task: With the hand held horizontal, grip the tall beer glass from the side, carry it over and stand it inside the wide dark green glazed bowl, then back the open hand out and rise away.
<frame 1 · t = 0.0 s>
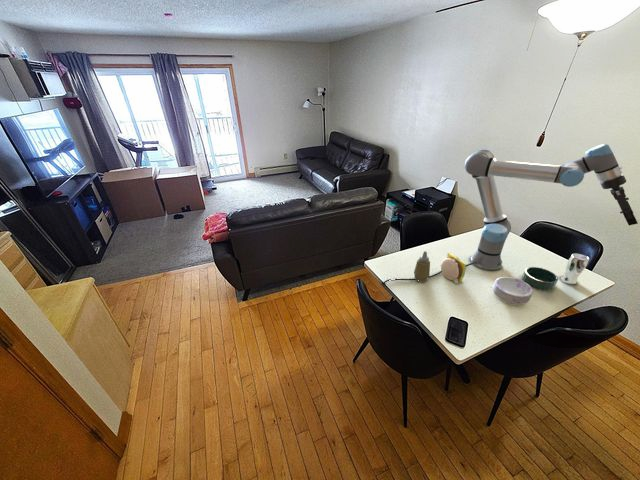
hand: (631, 219, 119), 36 cm above the table, tool tilted 35°, fingers open, 13 cm apart
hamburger: (449, 277, 145), on the table
lavender bowl: (508, 298, 129), on the table
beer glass: (568, 281, 138), on the table
squeeze bottle: (420, 279, 145), on the table
glazed bowl: (537, 282, 138), on the table
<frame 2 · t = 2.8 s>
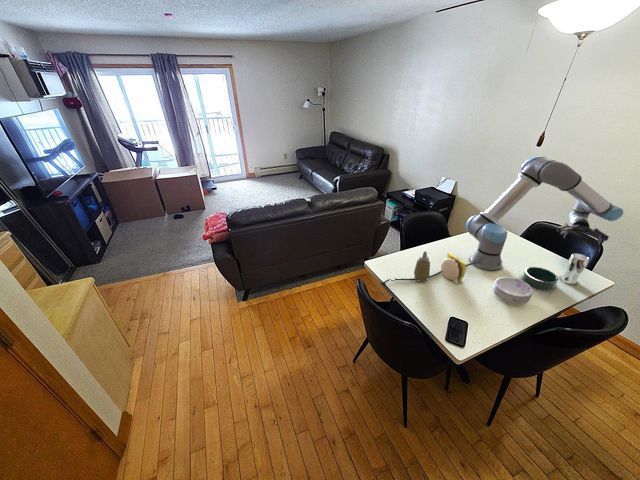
hand: (583, 240, 135), 20 cm above the table, tool horizontal, fingers open, 13 cm apart
nothing on the table moved.
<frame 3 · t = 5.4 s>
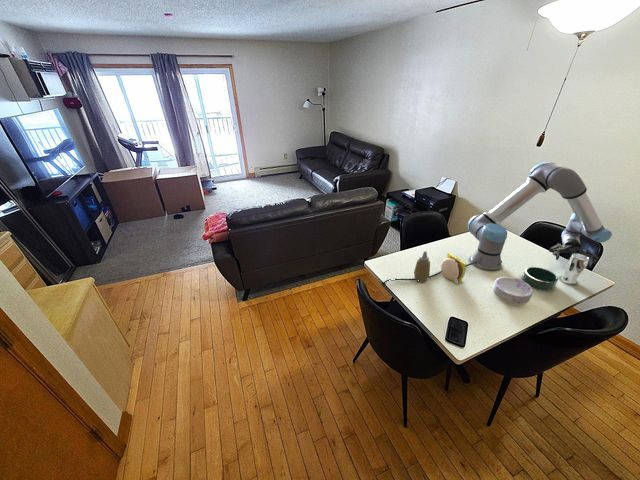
hand: (574, 261, 138), 9 cm above the table, tool horizontal, fingers open, 13 cm apart
nothing on the table moved.
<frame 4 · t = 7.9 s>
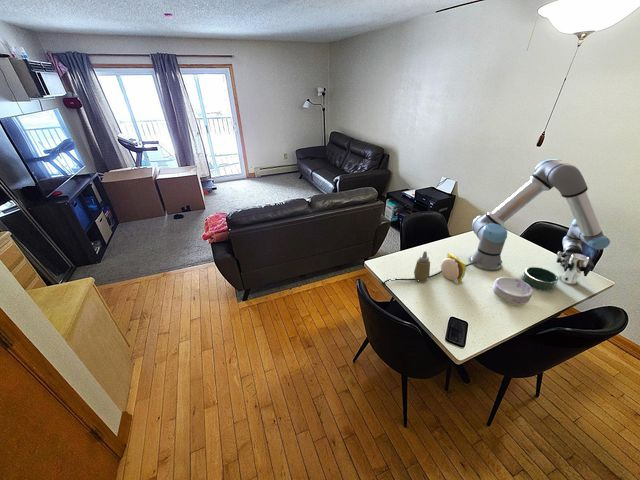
hand: (576, 271, 130), 9 cm above the table, tool horizontal, fingers closed on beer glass, 7 cm apart
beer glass: (568, 281, 138), on the table, touching gripper
everything else where it was.
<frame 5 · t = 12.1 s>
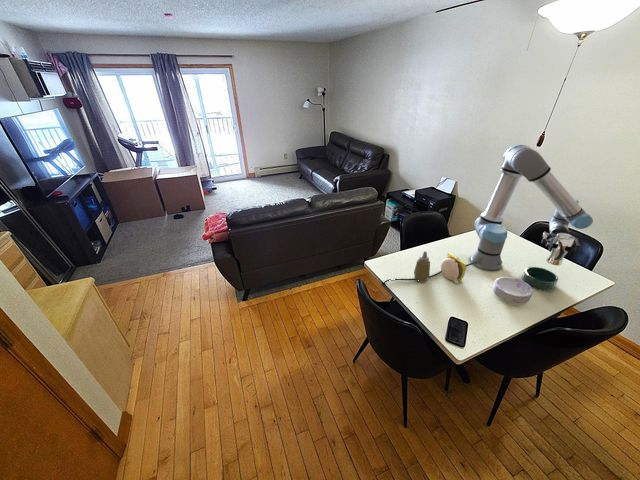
hand: (561, 251, 124), 22 cm above the table, tool horizontal, fingers closed on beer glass, 7 cm apart
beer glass: (553, 262, 132), point 13 cm above the table, touching gripper
everything else where it was.
when the fingers open (9 cm above the table, at t = 16.3 s): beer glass stays where it is, resting on glazed bowl.
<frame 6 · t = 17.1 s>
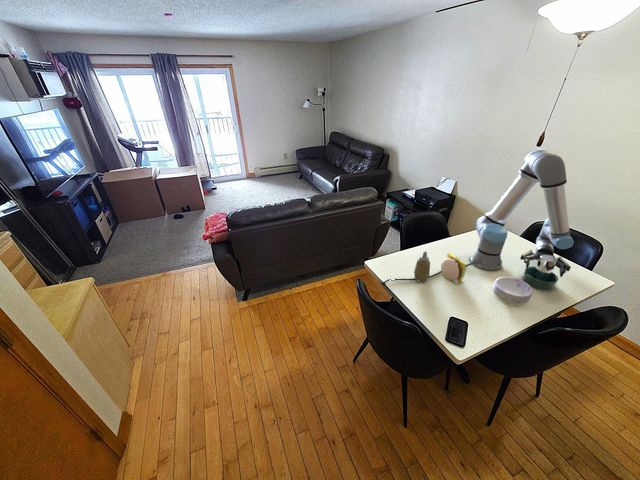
hand: (544, 270, 130), 10 cm above the table, tool horizontal, fingers open, 13 cm apart
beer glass: (537, 282, 137), resting on glazed bowl
everything else where it was.
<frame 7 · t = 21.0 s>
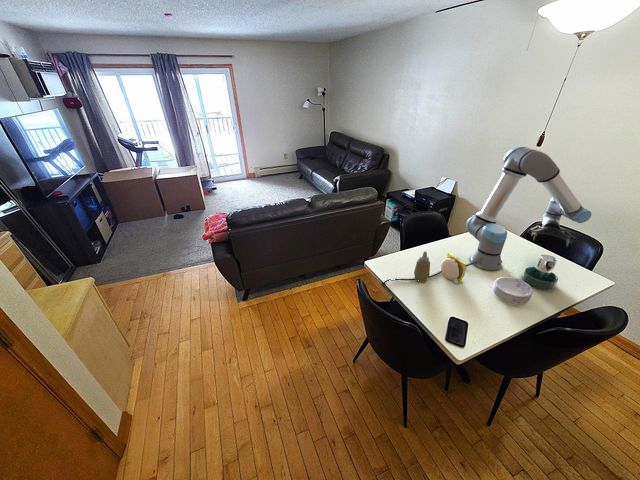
hand: (551, 241, 135), 20 cm above the table, tool horizontal, fingers open, 13 cm apart
nothing on the table moved.
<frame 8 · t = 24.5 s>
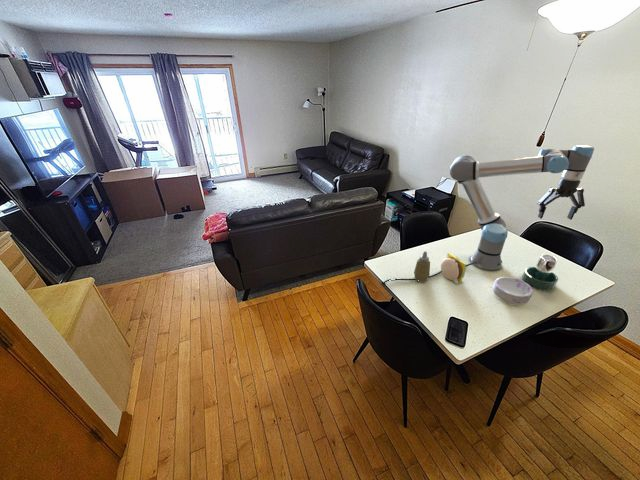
hand: (554, 218, 139), 29 cm above the table, tool pointing down, fingers open, 13 cm apart
nothing on the table moved.
at the end: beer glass 0.1 cm off-centre in the glazed bowl, point 0.4 cm above the glazed bowl's base; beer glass tilted 0°; the gripper is holding nothing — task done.
